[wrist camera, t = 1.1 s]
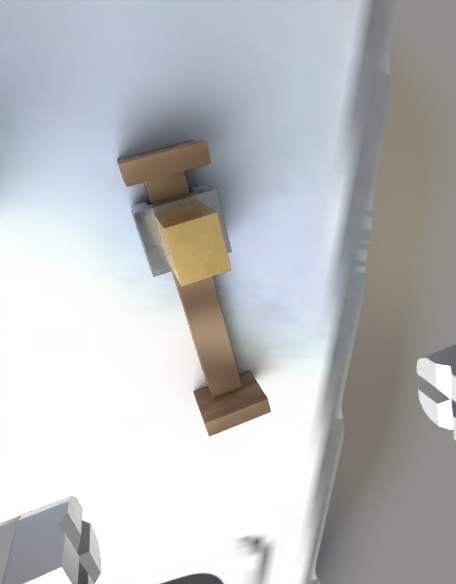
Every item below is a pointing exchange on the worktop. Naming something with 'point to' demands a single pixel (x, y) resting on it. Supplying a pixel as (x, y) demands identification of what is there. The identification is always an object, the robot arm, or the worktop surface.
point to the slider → (185, 235)
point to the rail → (200, 297)
